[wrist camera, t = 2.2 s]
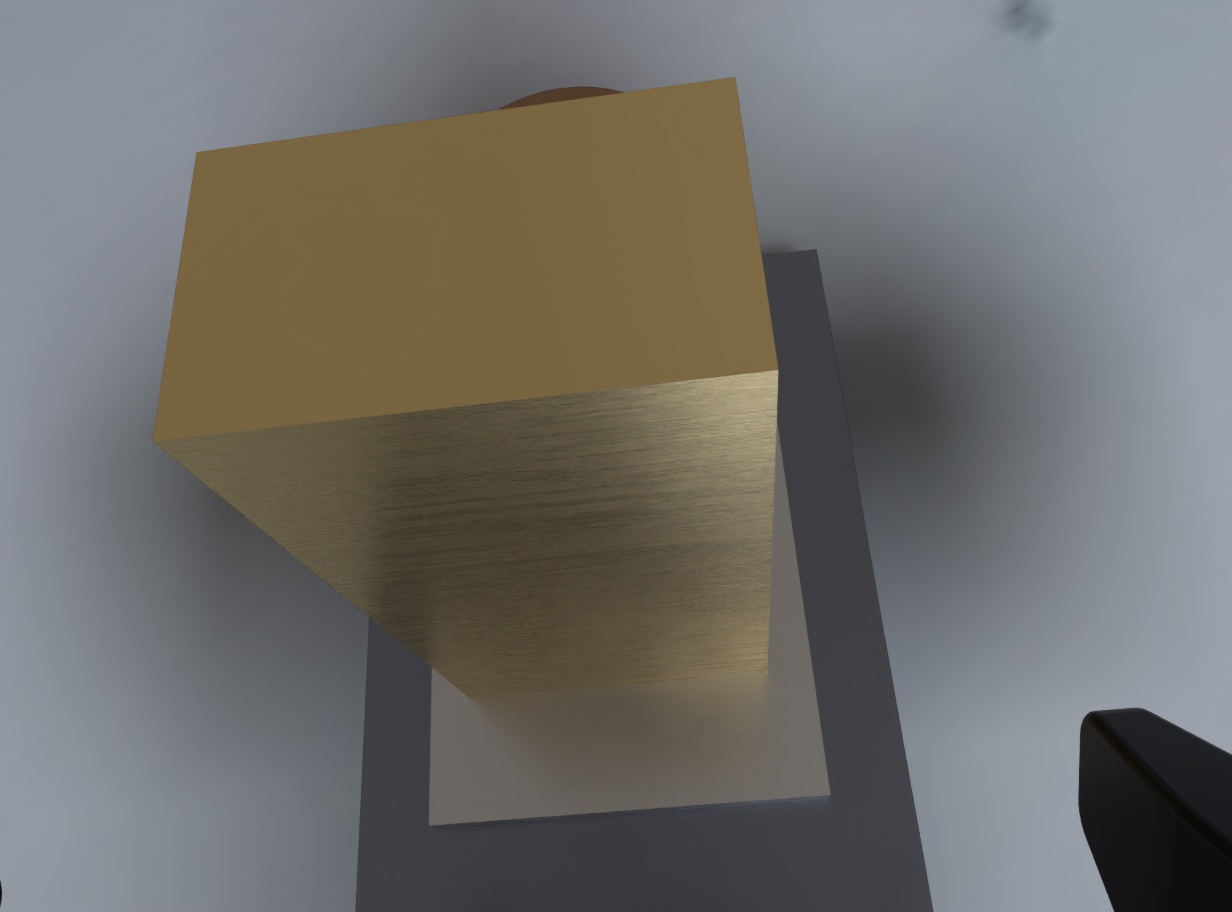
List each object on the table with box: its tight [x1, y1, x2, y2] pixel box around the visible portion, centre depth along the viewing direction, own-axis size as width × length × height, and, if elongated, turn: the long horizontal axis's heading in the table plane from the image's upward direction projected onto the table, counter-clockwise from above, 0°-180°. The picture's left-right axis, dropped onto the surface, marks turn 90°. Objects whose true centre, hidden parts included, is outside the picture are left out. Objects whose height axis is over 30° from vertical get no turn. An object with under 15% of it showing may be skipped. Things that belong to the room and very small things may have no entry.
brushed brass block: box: [153, 77, 778, 698], centre depth 13 cm, size 3×5×10 cm, turn 94°
